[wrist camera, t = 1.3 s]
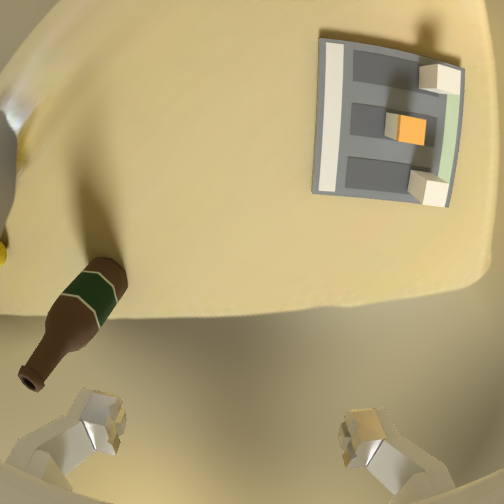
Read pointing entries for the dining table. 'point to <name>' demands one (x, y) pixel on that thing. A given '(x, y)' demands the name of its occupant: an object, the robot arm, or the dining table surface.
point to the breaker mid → (405, 128)
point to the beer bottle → (75, 318)
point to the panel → (379, 122)
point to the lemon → (2, 254)
